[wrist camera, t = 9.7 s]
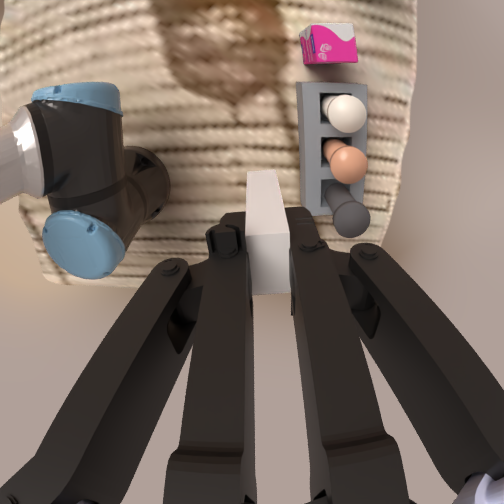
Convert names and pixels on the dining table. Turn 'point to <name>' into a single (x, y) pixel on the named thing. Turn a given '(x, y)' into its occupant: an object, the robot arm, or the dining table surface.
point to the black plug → (346, 211)
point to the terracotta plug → (344, 160)
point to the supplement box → (329, 43)
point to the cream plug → (343, 112)
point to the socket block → (312, 136)
